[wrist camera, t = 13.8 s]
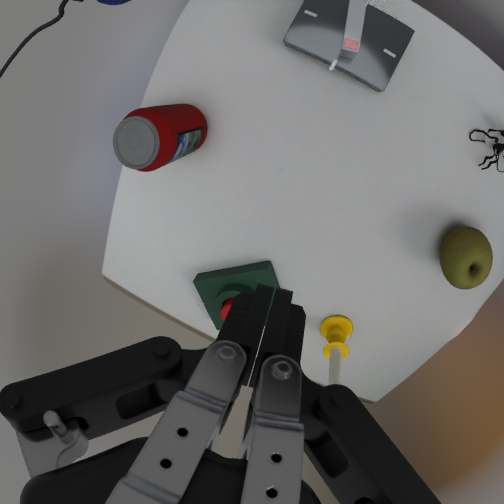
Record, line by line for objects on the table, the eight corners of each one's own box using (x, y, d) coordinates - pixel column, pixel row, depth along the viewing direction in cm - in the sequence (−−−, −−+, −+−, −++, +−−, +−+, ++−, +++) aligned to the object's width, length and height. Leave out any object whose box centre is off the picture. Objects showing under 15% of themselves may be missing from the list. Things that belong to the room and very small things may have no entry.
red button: (229, 320, 45) (226, 327, 44) (220, 299, 43) (216, 307, 42) (254, 317, 44) (251, 325, 42) (245, 296, 42) (242, 303, 41)
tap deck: (282, 51, 29) (279, 47, 26) (318, -16, 23) (318, -25, 21) (375, 98, 29) (380, 97, 26) (410, 30, 24) (418, 25, 21)
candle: (314, 330, 47) (304, 410, 34) (332, 309, 44) (328, 392, 31) (340, 342, 47) (337, 421, 34) (358, 323, 45) (362, 405, 31)
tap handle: (347, 5, 22) (351, -9, 18) (362, 9, 22) (367, -4, 18) (339, 55, 25) (341, 48, 21) (353, 59, 25) (358, 52, 21)
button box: (220, 322, 51) (213, 337, 47) (197, 273, 47) (188, 287, 43) (288, 314, 47) (285, 331, 43) (270, 260, 43) (265, 275, 39)
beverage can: (176, 161, 39) (125, 186, 28) (155, 118, 36) (98, 131, 26) (218, 139, 36) (175, 158, 26) (196, 94, 34) (145, 95, 23)
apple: (427, 266, 37) (441, 295, 31) (440, 213, 34) (460, 237, 27) (468, 270, 36) (486, 298, 30) (483, 221, 32) (506, 244, 26)
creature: (491, 180, 30) (523, 143, 25) (505, 199, 26) (541, 158, 21) (457, 143, 30) (490, 102, 24) (469, 158, 26) (507, 111, 20)
